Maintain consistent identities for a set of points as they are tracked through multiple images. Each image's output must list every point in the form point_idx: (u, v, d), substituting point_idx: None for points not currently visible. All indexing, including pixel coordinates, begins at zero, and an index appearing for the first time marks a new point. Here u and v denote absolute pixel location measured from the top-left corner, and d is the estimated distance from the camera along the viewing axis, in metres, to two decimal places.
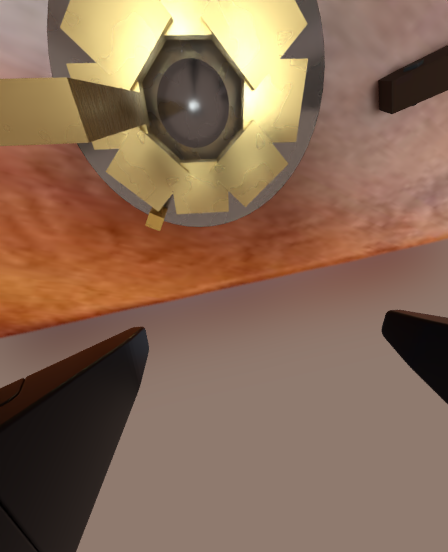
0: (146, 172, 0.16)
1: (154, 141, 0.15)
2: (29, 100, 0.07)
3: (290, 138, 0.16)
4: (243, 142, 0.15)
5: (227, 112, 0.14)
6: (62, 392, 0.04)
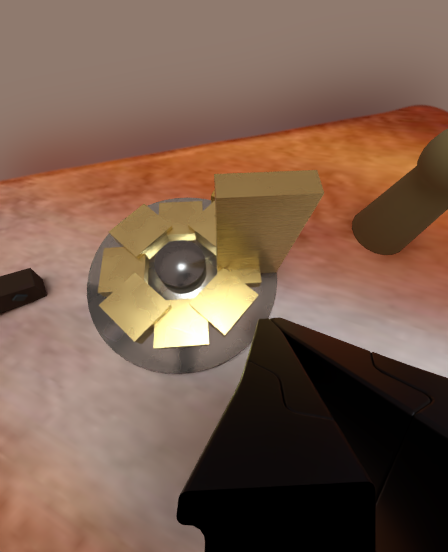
0: None
1: (210, 243, 0.21)
2: (240, 189, 0.12)
3: (108, 249, 0.21)
4: (144, 244, 0.20)
5: (155, 259, 0.20)
6: None
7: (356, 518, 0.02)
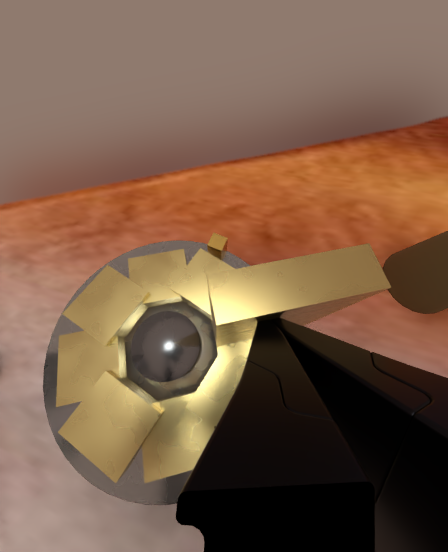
0: None
1: (203, 310, 0.16)
2: (254, 300, 0.07)
3: (65, 337, 0.15)
4: (114, 324, 0.15)
5: (132, 342, 0.15)
6: None
7: (356, 518, 0.02)
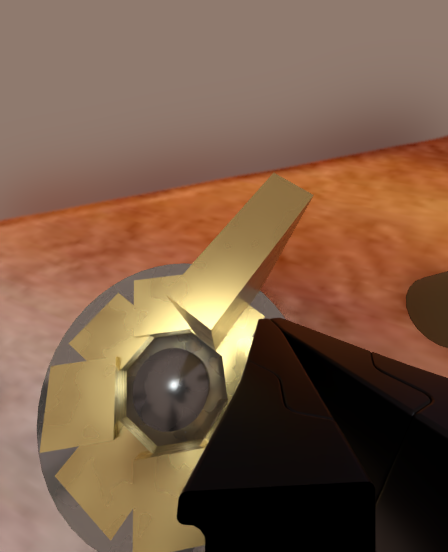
0: (167, 302, 0.15)
1: (180, 330, 0.15)
2: (225, 282, 0.06)
3: (63, 471, 0.12)
4: (106, 413, 0.13)
5: (134, 383, 0.13)
6: None
7: (356, 518, 0.02)
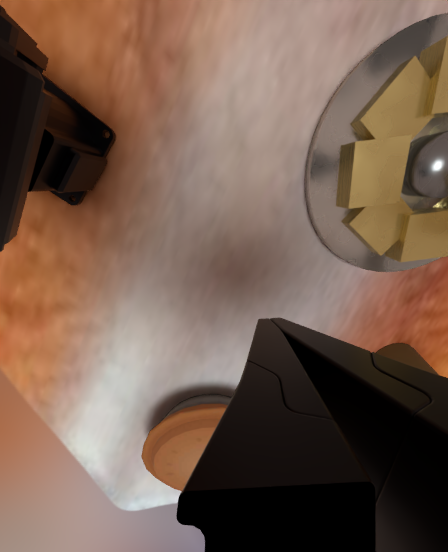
0: None
1: None
2: None
3: (416, 64, 0.14)
4: None
5: None
6: None
7: (356, 518, 0.02)
